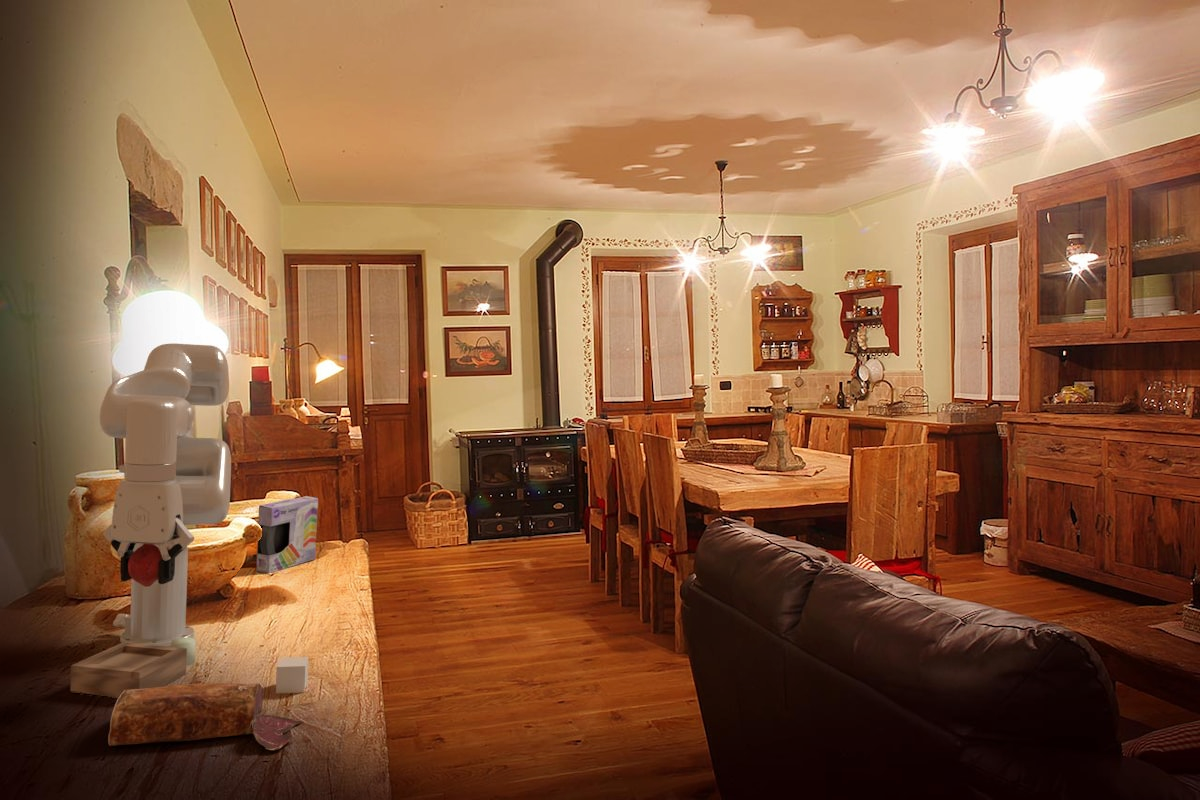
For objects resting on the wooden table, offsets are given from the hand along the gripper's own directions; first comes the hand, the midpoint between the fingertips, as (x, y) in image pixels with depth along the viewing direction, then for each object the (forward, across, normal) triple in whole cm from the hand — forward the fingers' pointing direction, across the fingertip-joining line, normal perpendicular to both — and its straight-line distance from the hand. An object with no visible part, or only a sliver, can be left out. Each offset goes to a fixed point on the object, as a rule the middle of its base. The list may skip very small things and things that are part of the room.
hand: (147, 579), depth 140 cm
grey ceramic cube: (+17, +25, +3) cm, 30 cm away
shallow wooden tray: (+17, -2, -1) cm, 17 cm away
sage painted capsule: (+17, +1, +10) cm, 20 cm away
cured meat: (+18, +21, -16) cm, 32 cm away
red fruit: (+1, 0, 0) cm, 1 cm away
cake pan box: (+18, -15, +82) cm, 86 cm away
